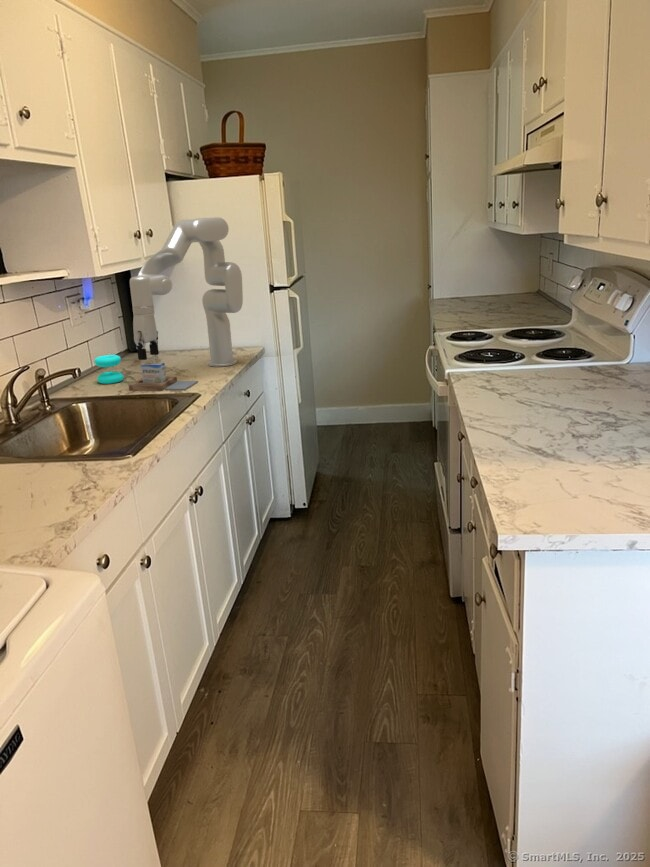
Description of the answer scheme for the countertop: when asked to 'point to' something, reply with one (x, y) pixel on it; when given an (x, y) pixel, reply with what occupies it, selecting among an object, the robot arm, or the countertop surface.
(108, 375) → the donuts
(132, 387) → the board
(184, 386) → the slate mat
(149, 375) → the medicine box
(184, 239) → the robot arm
